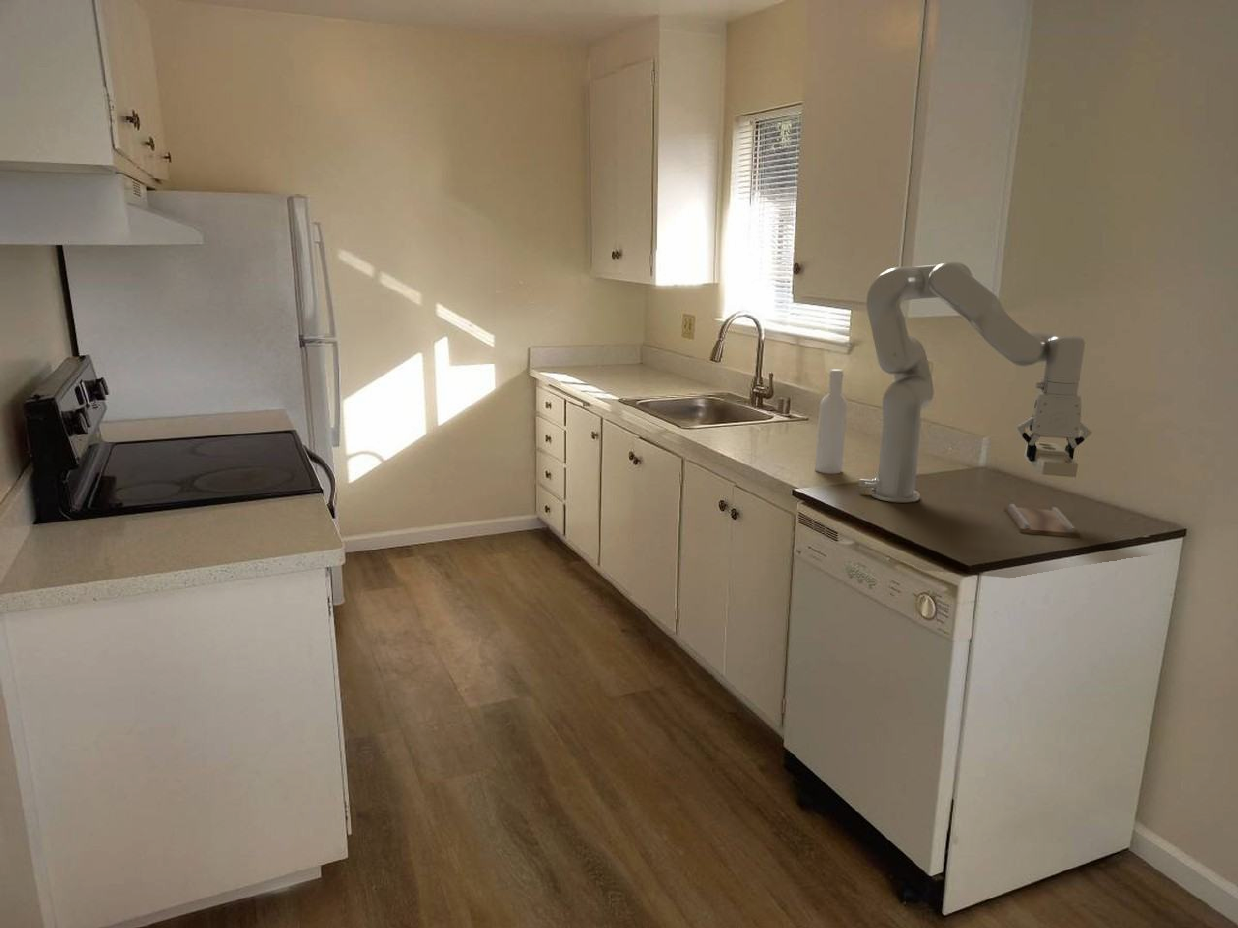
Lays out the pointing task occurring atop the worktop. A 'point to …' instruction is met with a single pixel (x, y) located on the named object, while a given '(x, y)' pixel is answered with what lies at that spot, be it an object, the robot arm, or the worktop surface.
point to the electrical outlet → (1053, 460)
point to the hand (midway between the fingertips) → (1048, 461)
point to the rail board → (1041, 521)
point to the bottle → (831, 427)
